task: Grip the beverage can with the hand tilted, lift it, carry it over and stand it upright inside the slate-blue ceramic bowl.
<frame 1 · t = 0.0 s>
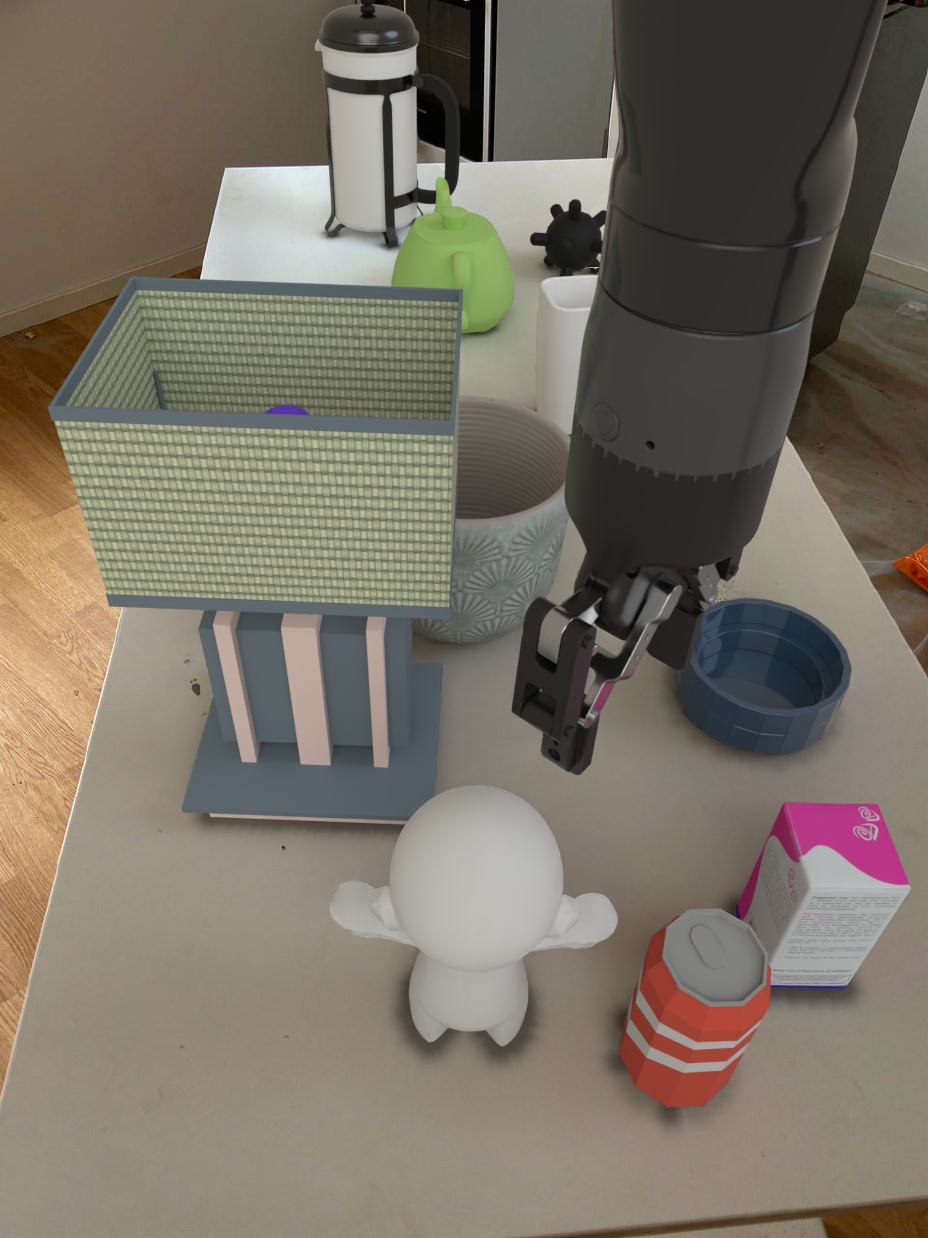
hand: (618, 707, 46), 22 cm above the table, tool pointing down, fingers open, 8 cm apart
toy ball: (565, 275, 131), on the table
beverage can: (672, 1057, 56), on the table
figurine: (467, 1018, 57), on the table
coffee press: (384, 230, 140), on the table
desk lamp: (324, 754, 71), on the table
bowl: (751, 697, 76), on the table
supplement box: (788, 947, 61), on the table
cup: (566, 425, 104), on the table
teapot: (451, 313, 122), on the table
planter: (461, 604, 83), on the table
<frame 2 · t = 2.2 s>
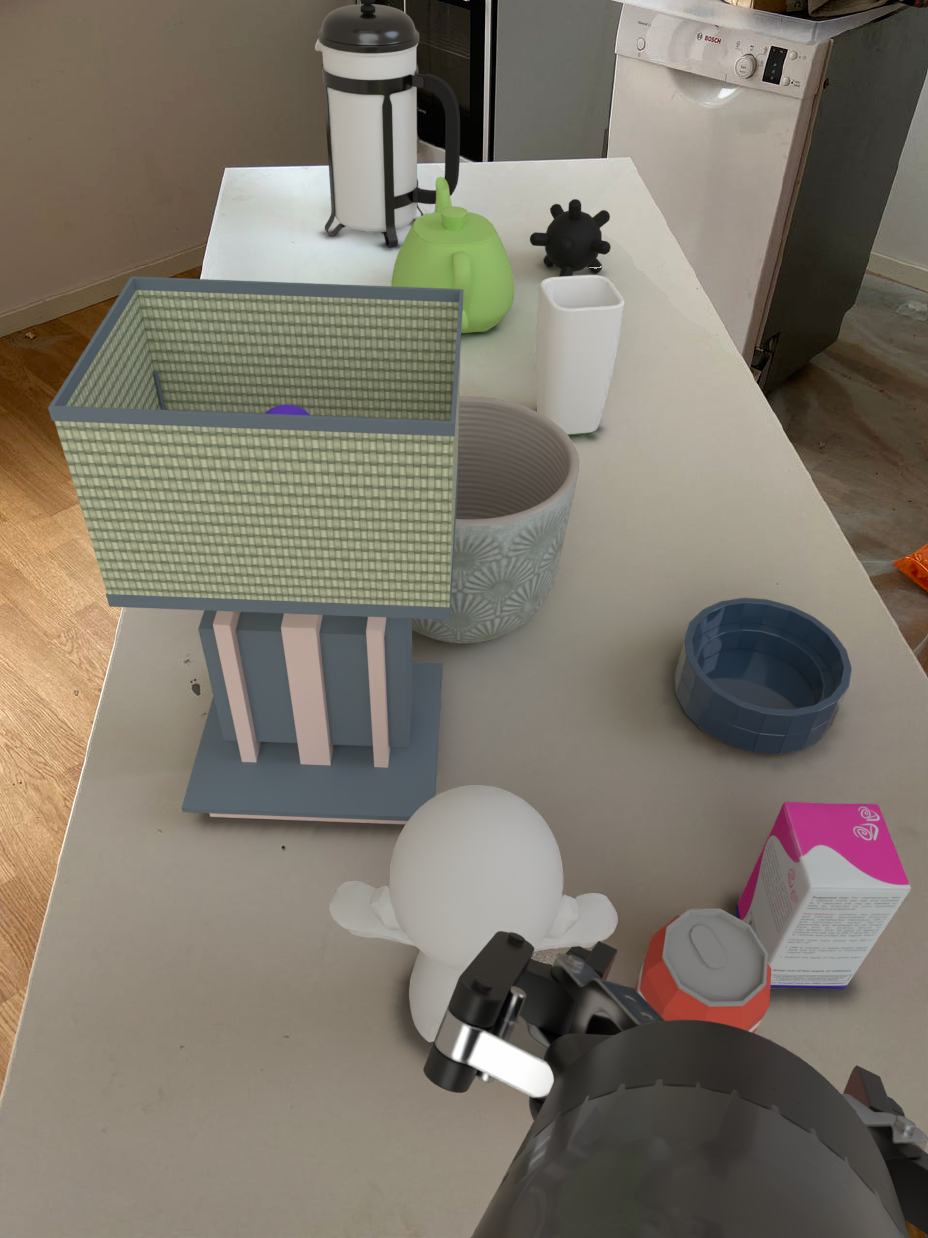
hand: (720, 1033, 31), 25 cm above the table, tool tilted 45°, fingers open, 8 cm apart
nothing on the table moved.
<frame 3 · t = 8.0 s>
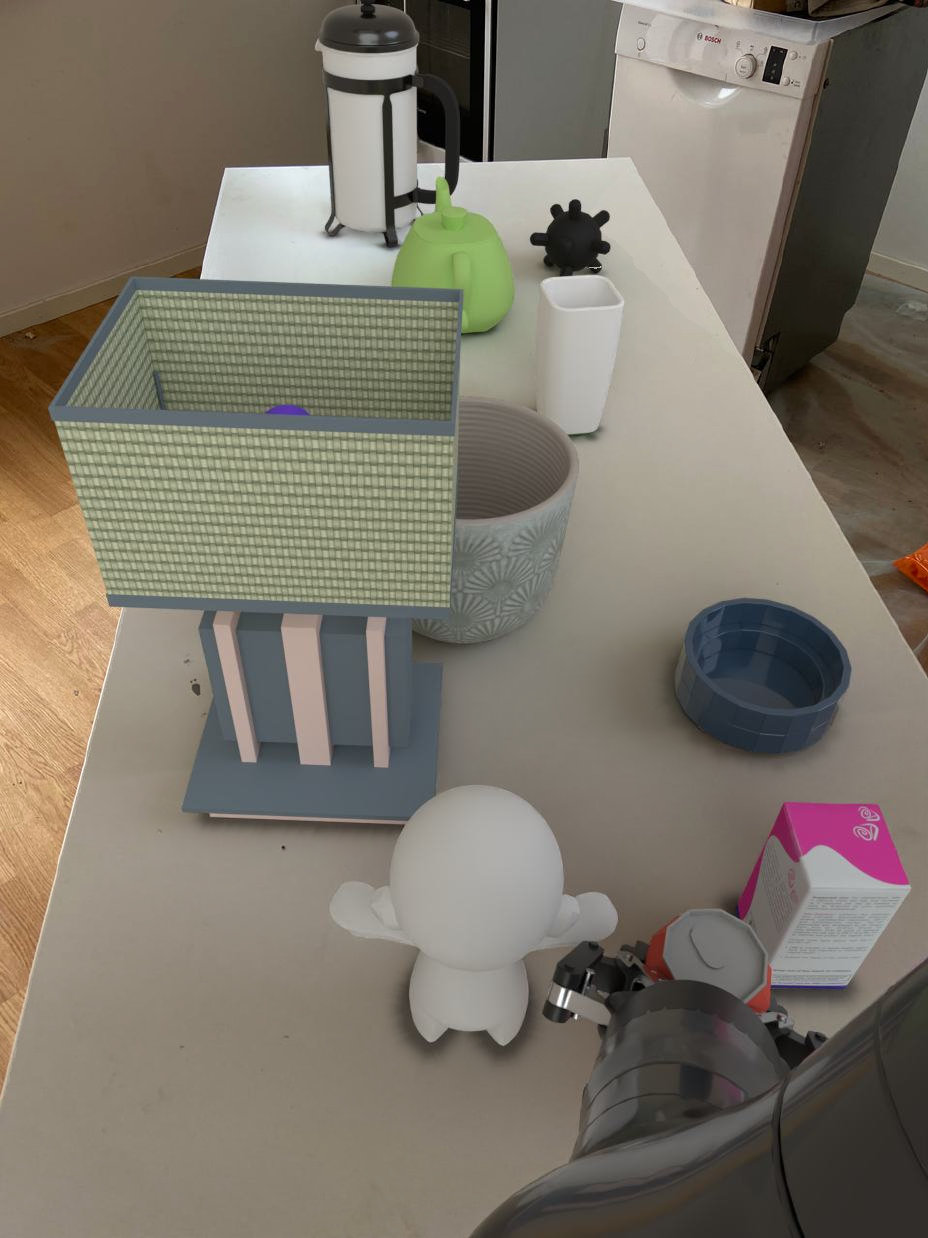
hand: (698, 983, 53), 6 cm above the table, tool tilted 45°, fingers closed on beverage can, 6 cm apart
beverage can: (671, 1057, 56), on the table, touching gripper
everything else where it was.
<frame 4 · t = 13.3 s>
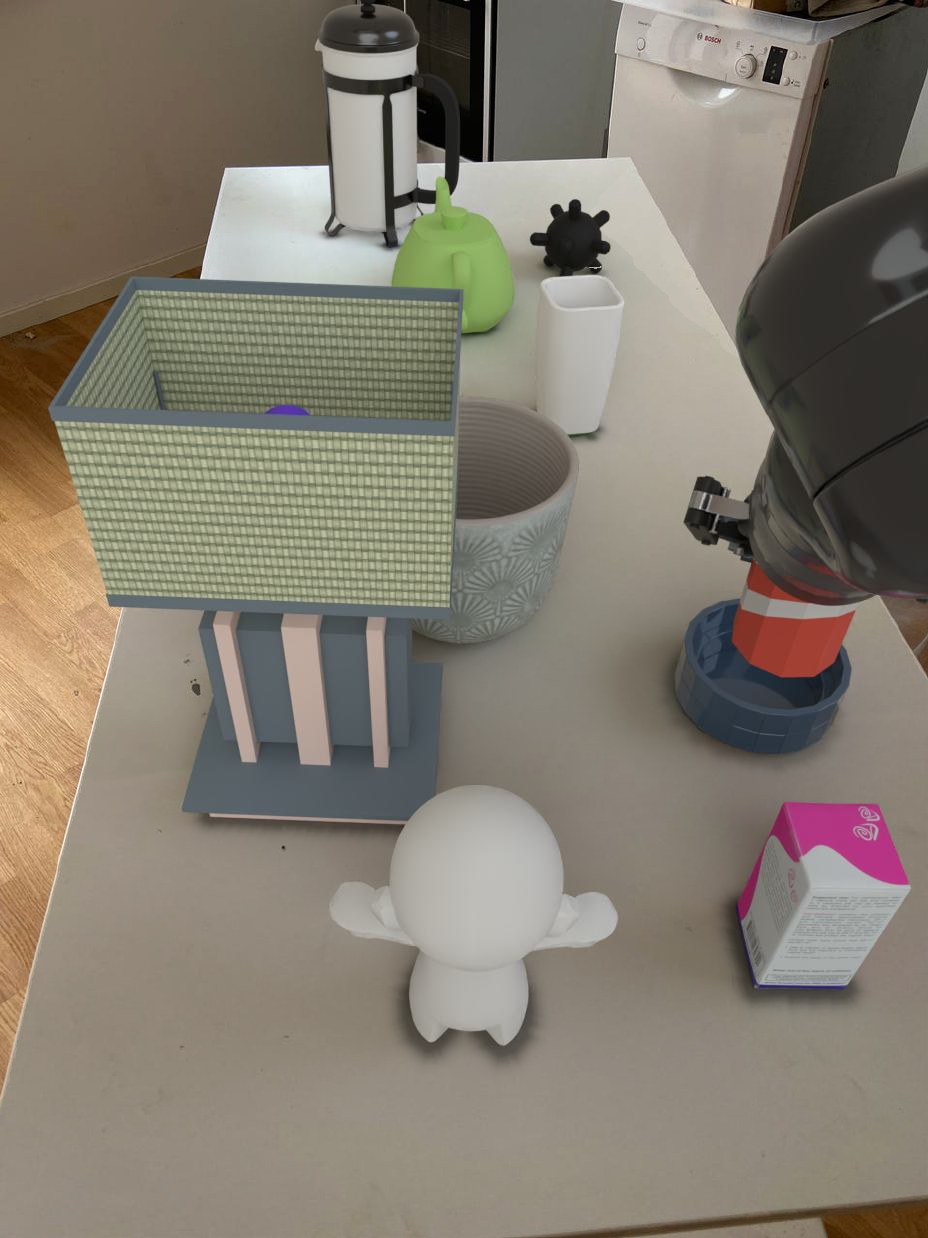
hand: (809, 560, 57), 20 cm above the table, tool tilted 45°, fingers closed on beverage can, 6 cm apart
beverage can: (779, 651, 60), point 14 cm above the table, touching gripper
everything else where it was.
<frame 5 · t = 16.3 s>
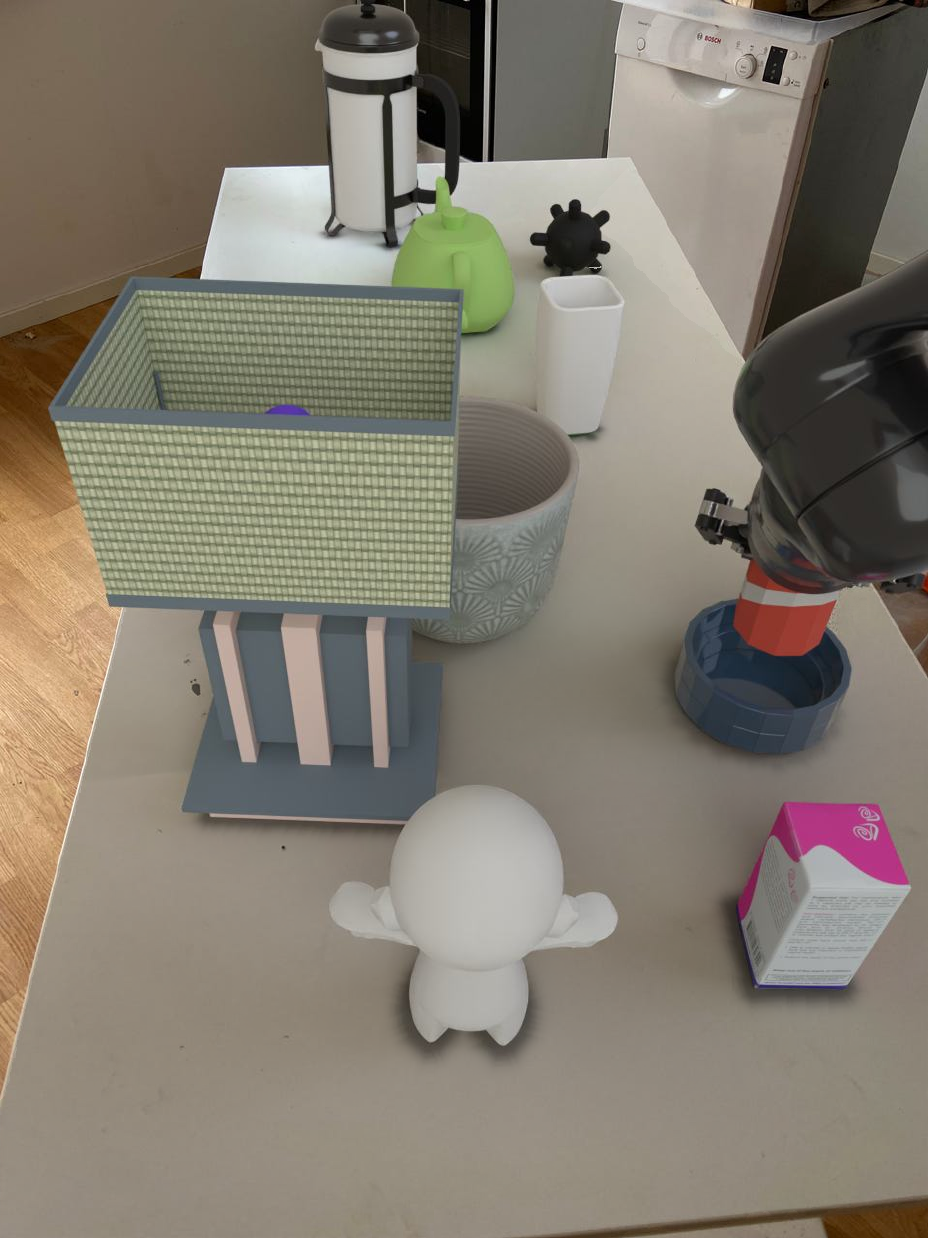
hand: (799, 558, 68), 13 cm above the table, tool tilted 45°, fingers closed on beverage can, 6 cm apart
beverage can: (773, 634, 71), point 7 cm above the table, touching gripper
everything else where it was.
when the fingers open (6 cm above the table, at t = 18.7 s): beverage can stays where it is, resting on bowl.
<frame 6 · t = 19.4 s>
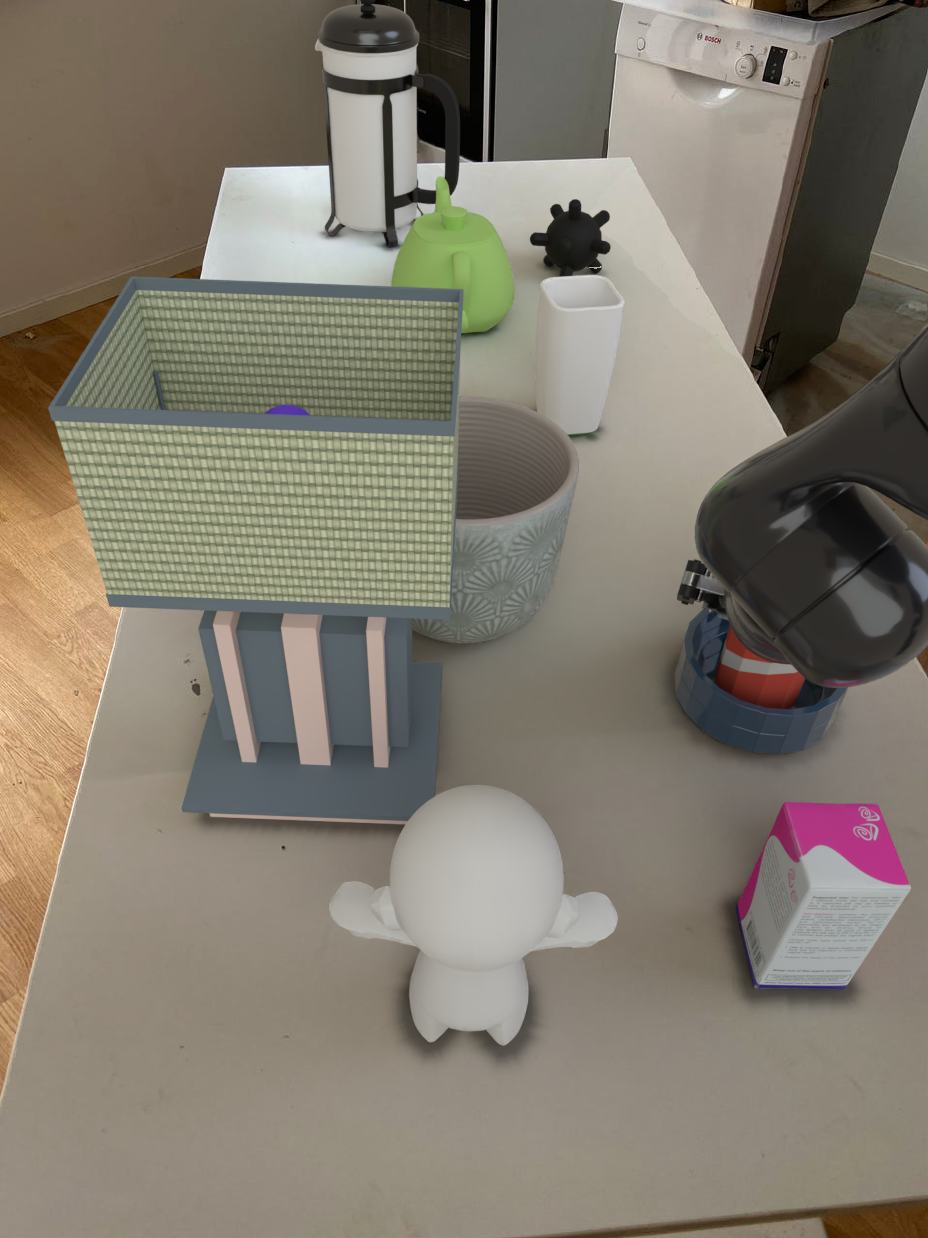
hand: (779, 617, 72), 8 cm above the table, tool tilted 45°, fingers open, 8 cm apart
beverage can: (752, 695, 76), resting on bowl
everything else where it was.
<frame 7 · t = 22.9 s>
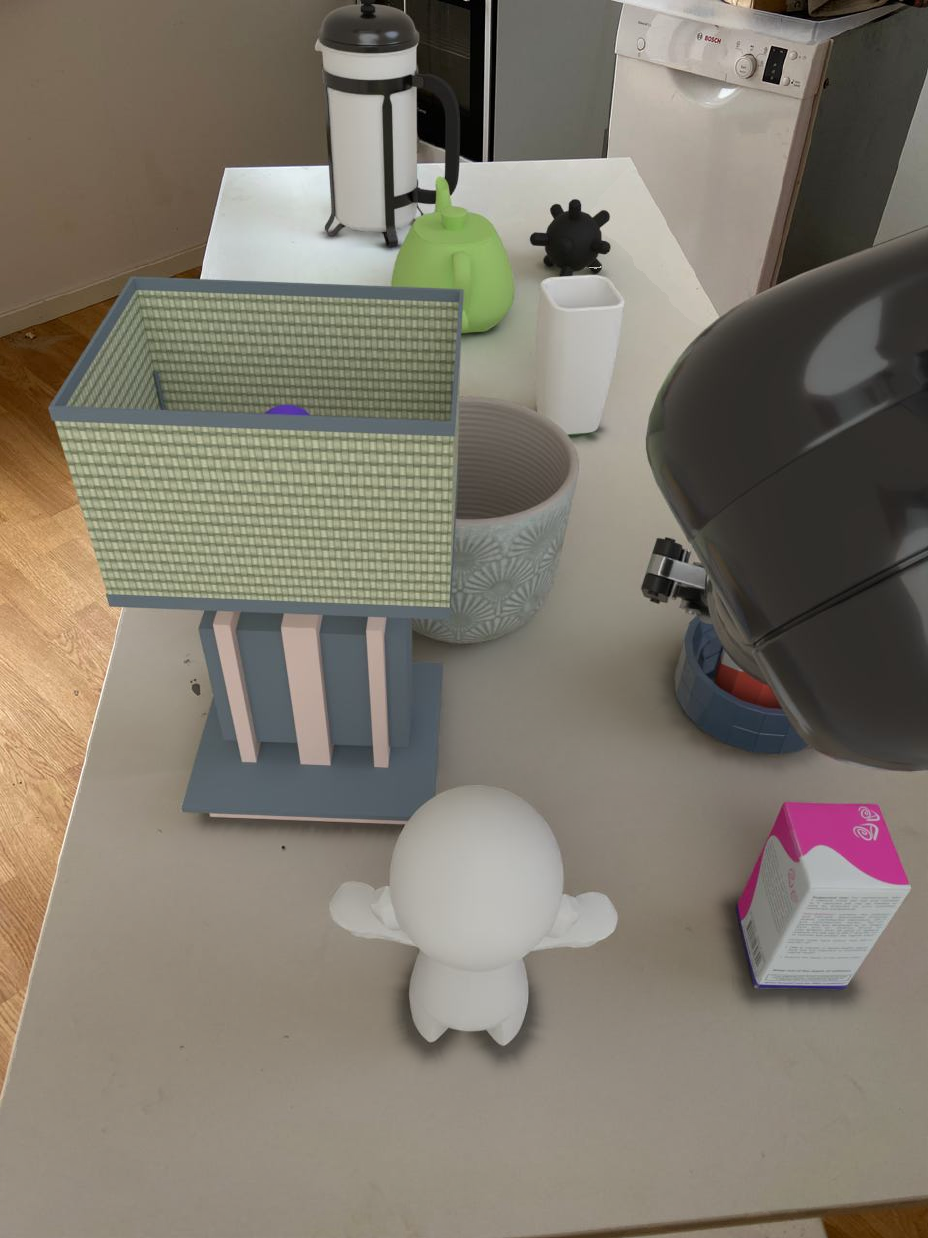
hand: (787, 621, 52), 21 cm above the table, tool tilted 45°, fingers open, 8 cm apart
nothing on the table moved.
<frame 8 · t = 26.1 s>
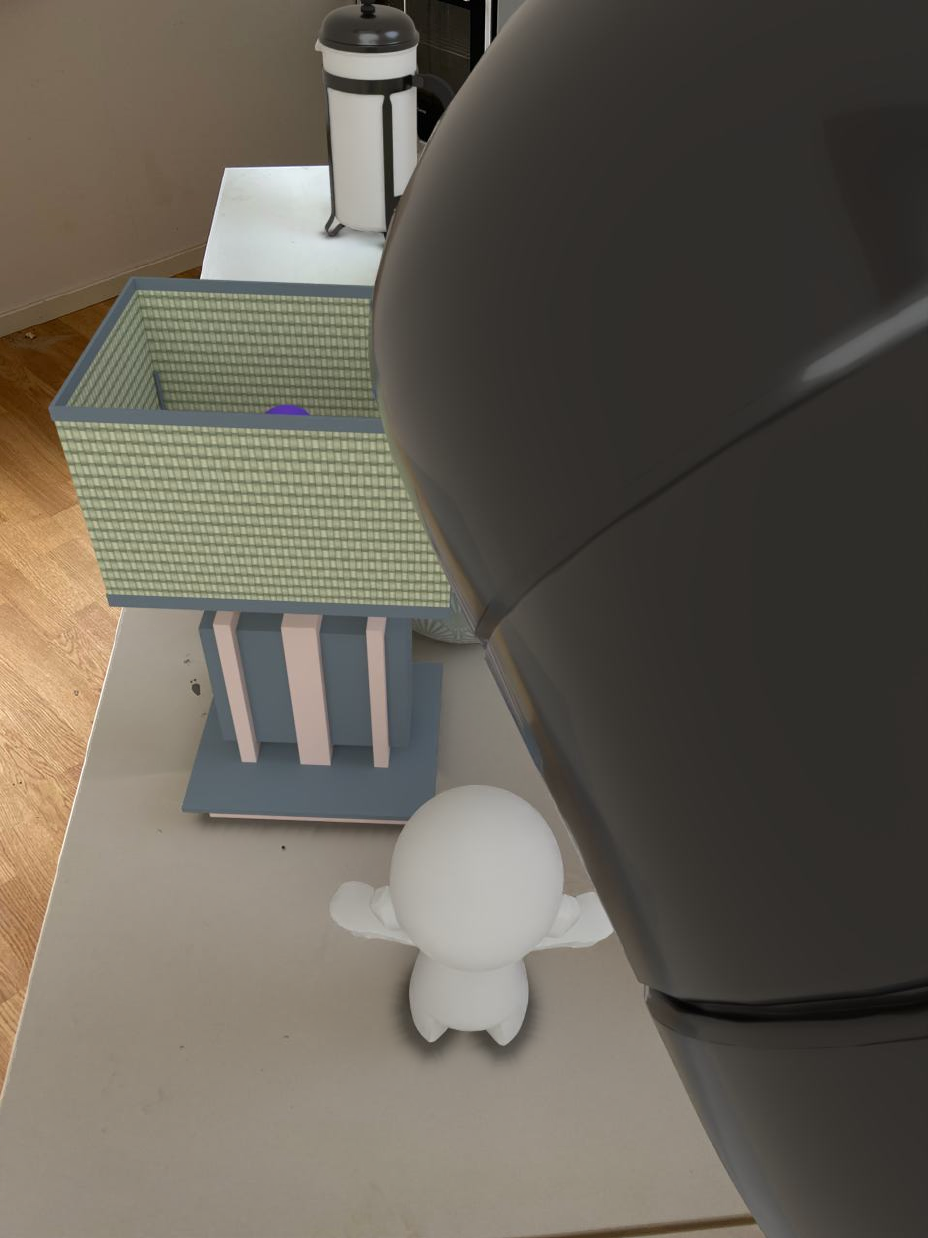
hand: (777, 674, 38), 29 cm above the table, tool tilted 45°, fingers open, 8 cm apart
nothing on the table moved.
at the end: beverage can 0.1 cm off-centre in the bowl, point 0.4 cm above the bowl's base; beverage can tilted 0°; the gripper is holding nothing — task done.
